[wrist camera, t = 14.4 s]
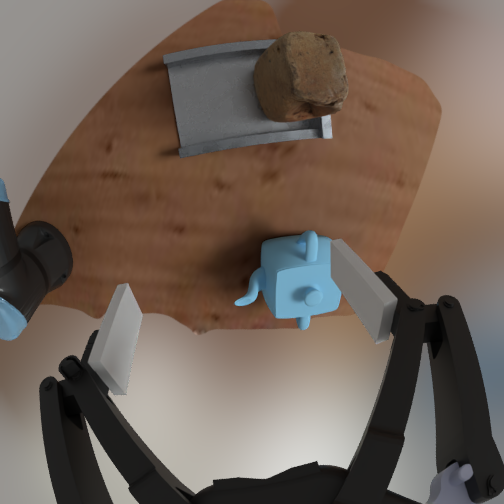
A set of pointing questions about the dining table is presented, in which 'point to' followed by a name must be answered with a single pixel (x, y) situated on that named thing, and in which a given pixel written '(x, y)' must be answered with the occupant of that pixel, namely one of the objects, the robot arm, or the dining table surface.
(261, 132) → the dock
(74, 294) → the dining table surface
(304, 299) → the teapot
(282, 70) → the brown blocky piece
